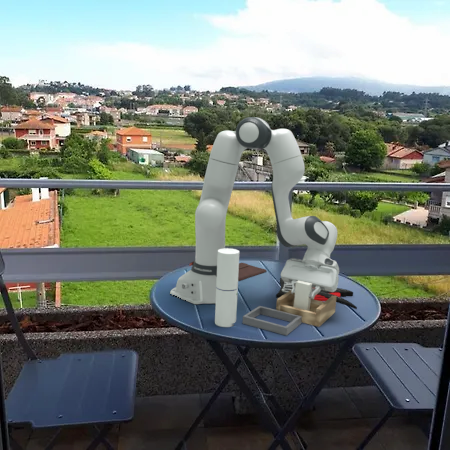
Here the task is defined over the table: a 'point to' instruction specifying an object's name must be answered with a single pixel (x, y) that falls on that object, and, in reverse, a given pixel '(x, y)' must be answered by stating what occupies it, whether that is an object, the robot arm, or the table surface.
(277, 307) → the tray
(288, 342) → the table surface
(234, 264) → the cylindrical container
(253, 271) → the notebook
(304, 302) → the white upright pillar
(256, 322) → the charcoal tray
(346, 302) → the black red irregular piece
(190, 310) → the table surface
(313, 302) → the offcut top
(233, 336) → the table surface
